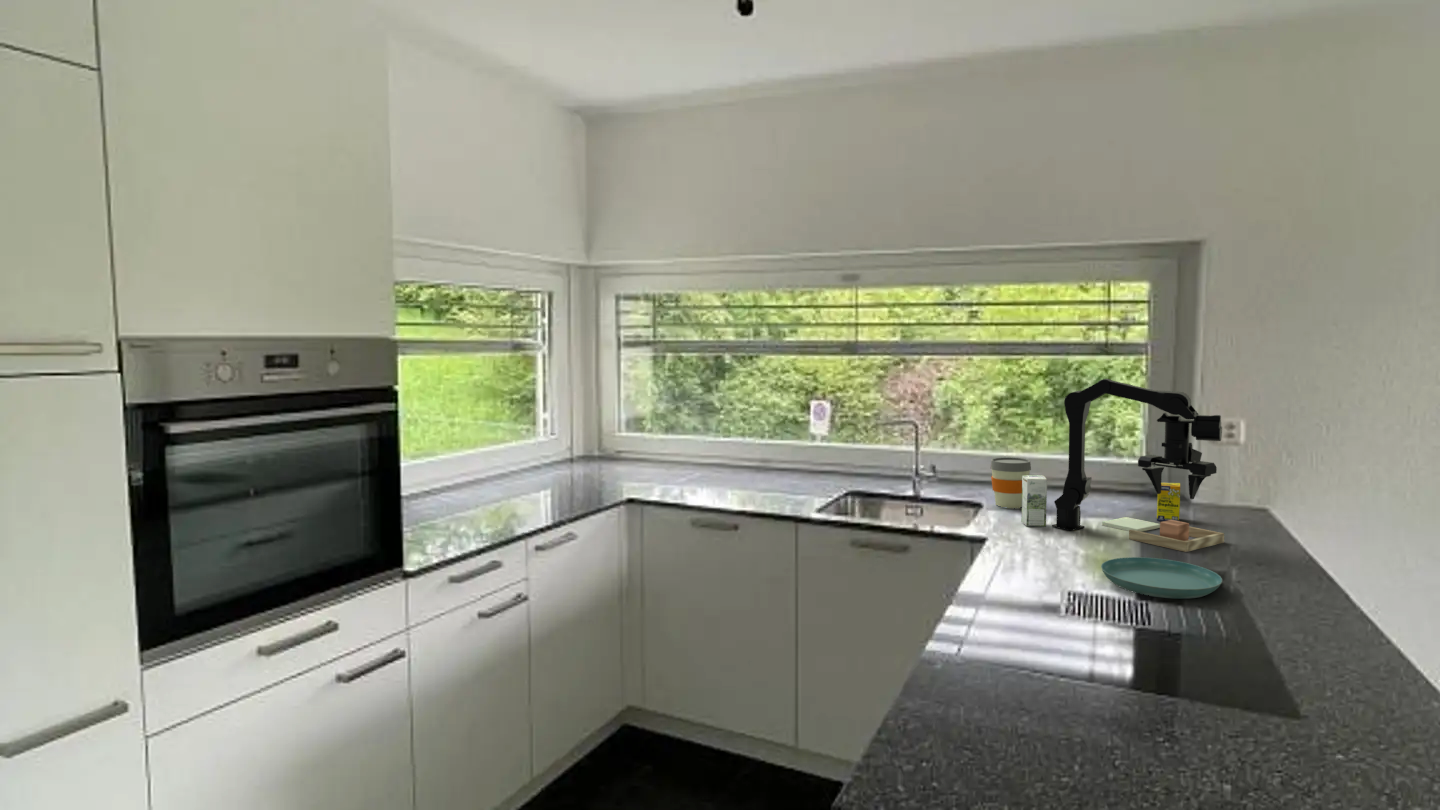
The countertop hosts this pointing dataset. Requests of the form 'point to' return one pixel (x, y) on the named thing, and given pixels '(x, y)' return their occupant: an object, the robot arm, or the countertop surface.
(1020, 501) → the reusable coffee cup
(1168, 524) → the terracotta cube
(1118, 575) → the teal plate
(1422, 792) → the countertop surface
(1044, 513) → the syrup box
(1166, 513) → the supplement box
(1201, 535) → the open wooden frame
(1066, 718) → the countertop surface
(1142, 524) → the pad
